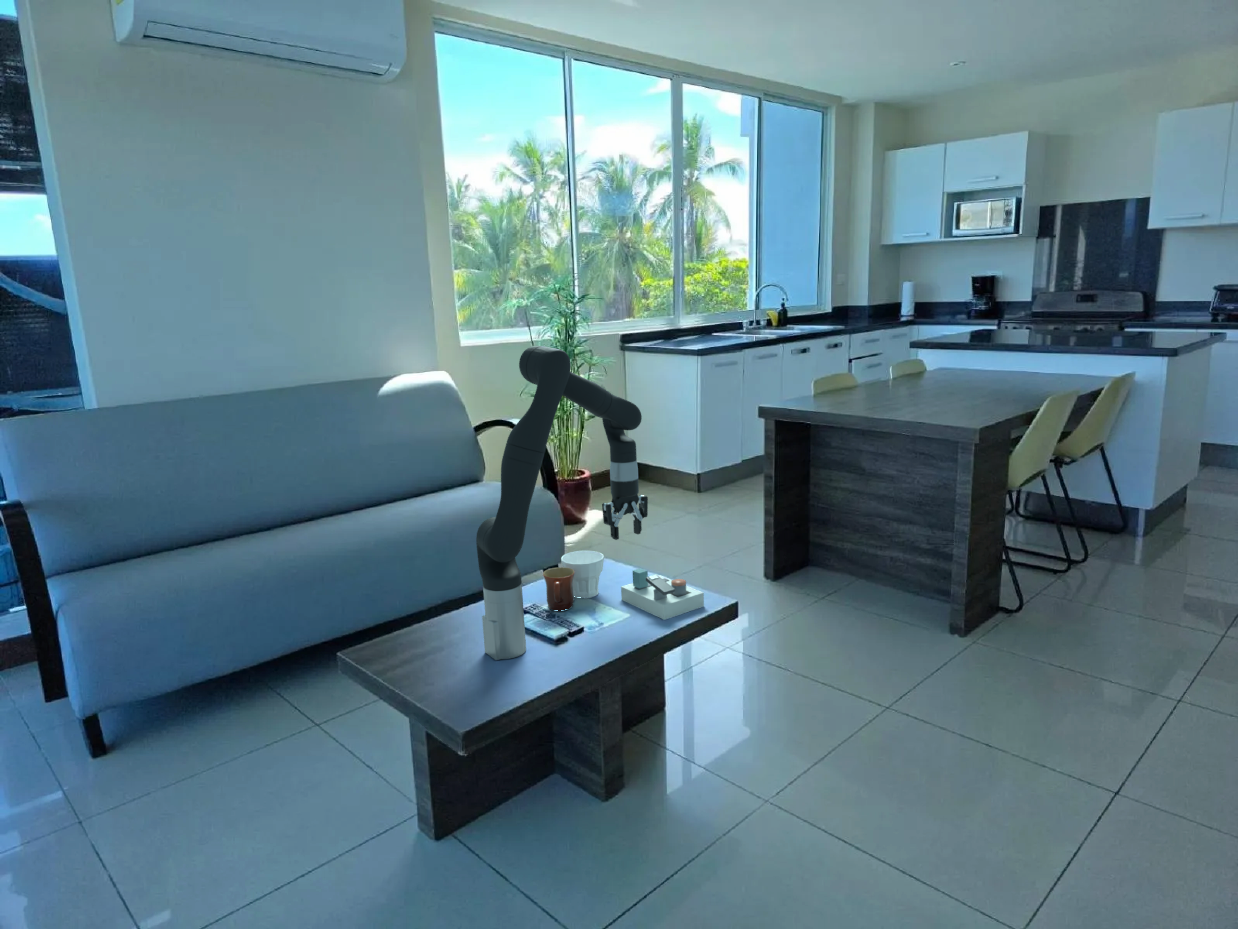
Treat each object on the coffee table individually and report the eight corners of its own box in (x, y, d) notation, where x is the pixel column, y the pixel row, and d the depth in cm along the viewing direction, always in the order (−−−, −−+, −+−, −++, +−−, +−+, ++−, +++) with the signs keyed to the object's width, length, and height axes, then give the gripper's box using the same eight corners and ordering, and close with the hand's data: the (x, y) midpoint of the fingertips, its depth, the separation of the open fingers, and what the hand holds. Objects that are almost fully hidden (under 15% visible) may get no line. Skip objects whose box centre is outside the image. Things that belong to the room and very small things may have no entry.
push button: (678, 603, 214) (677, 585, 213) (668, 599, 217) (668, 581, 216) (689, 599, 216) (689, 581, 215) (679, 595, 219) (679, 577, 218)
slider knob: (639, 588, 219) (639, 573, 218) (633, 585, 221) (632, 570, 220) (648, 586, 220) (647, 570, 219) (641, 583, 223) (641, 568, 222)
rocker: (663, 595, 208) (664, 591, 207) (645, 580, 213) (646, 576, 213) (674, 592, 210) (675, 588, 209) (655, 577, 215) (656, 573, 215)
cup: (581, 604, 221) (579, 567, 219) (554, 594, 230) (552, 557, 228) (614, 592, 229) (612, 556, 227) (586, 582, 238) (585, 547, 236)
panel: (664, 619, 208) (663, 594, 207) (621, 599, 223) (620, 576, 222) (703, 606, 216) (703, 582, 215) (660, 588, 231) (659, 565, 230)
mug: (546, 602, 224) (544, 567, 222) (577, 601, 223) (575, 566, 221) (541, 619, 212) (539, 582, 210) (574, 618, 212) (572, 581, 210)
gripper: (610, 483, 205) (613, 545, 208) (653, 474, 213) (655, 534, 217) (594, 479, 211) (597, 538, 214) (636, 470, 219) (638, 528, 222)
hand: (626, 536), depth 215 cm, fingers open, 7 cm apart
